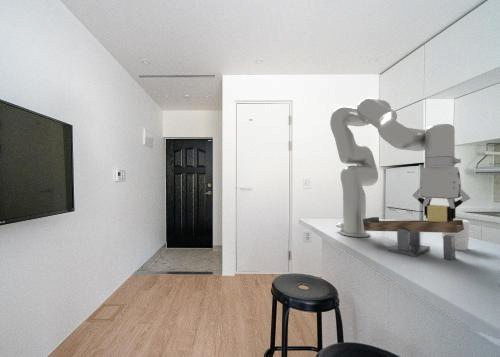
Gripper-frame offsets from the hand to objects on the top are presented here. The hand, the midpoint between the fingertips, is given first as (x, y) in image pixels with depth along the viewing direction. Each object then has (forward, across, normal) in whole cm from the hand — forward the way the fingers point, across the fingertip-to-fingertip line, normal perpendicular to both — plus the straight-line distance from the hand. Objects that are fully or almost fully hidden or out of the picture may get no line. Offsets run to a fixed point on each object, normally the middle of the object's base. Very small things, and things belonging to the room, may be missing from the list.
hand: (439, 218), depth 76 cm
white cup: (+12, -1, -17) cm, 21 cm away
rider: (+1, 0, 0) cm, 1 cm away
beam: (+5, +8, 0) cm, 10 cm away
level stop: (+12, -3, 0) cm, 12 cm away
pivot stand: (+12, +8, 0) cm, 15 cm away
